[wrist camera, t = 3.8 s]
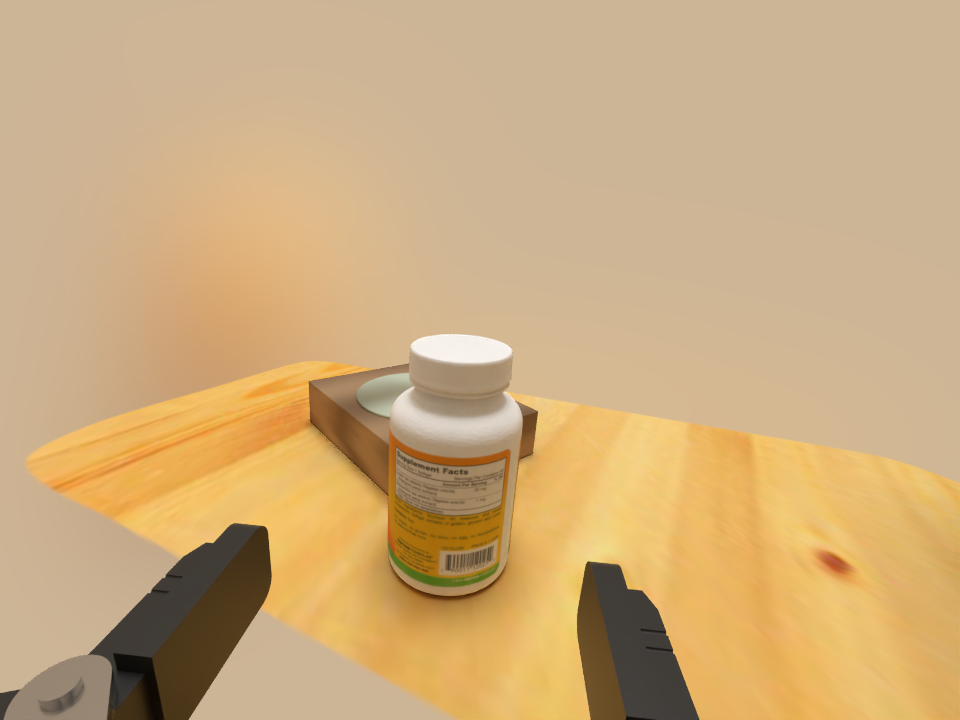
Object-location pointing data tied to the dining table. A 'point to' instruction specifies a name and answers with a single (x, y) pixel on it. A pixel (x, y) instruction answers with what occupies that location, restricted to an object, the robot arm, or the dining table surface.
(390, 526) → the supplement bottle
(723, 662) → the dining table surface
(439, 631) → the dining table surface
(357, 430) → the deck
